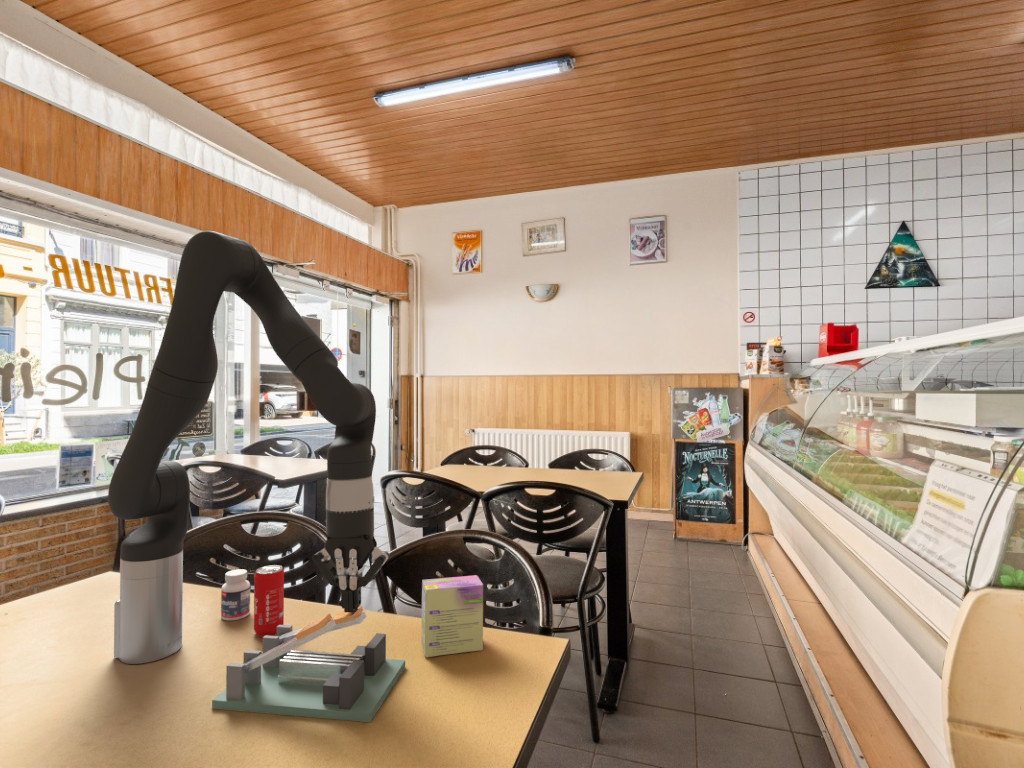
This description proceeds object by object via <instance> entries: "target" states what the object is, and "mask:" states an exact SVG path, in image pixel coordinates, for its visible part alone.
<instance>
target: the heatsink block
mask: <svg viewBox="0 0 1024 768" xmlns="http://www.w3.org/2000/svg"><path fill="white" fill-rule="evenodd" d="M354 660H361V661H363V655H355V654H351V653H340V652H339V653H336V652H326V651H325V652H324V651H313V650H308V651H307V650H299V649H298V650H297V649H293V650H291V651H290V653H288V654H286V656H284V657H283V659H281V660H280V661H279V677H278V683H281V684H294V685H306V686H319V687H323V685H324V683H325V682H326V681H327V680H328V679H329V678H330V677H331V676H332V674H343V673H344V671H345V670H346V669H347V668H348V667H349V665H350V664H351V663H352V662H353V661H354Z"/></svg>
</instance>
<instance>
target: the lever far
mask: <svg viewBox="0 0 1024 768" xmlns="http://www.w3.org/2000/svg"><path fill="white" fill-rule="evenodd" d="M366 618H367V614H366V611H364V608H363V605H360V606H359V607H358V609H357V610H356V611H355V612H354V613H350V612H344V610H342V611H340V612H338V613H337V614H336V615H335V616H334V617H332V619H334V621H335V623H336V625H335V626H334V627H333V628H332V629H331V630H330V631H329V632H330V633H331V632H333V631H337V630H342V629H346V628H349V627H352V626H356V625H359V624H361V623H362V622H363V621H364V620H365V619H366ZM303 628H304V627H303ZM303 628H299V629H295V630H292V631H291V632H288V633H281V634H280V635H278V636H279V645H281V644H283V643H285V642H287V641H289V640H291V639H293V638H295V637H296V636H295V635H296V634H297V633H298V632H300V631H301V630H302V629H303ZM329 632H328V633H329Z"/></svg>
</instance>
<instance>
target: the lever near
mask: <svg viewBox="0 0 1024 768" xmlns="http://www.w3.org/2000/svg"><path fill="white" fill-rule="evenodd" d="M335 625H336V623H335V621H334V619H333V617H332V615H331V613H328V614H326V615H324V616H322V617H319V618H318V619H316V620H313V621H312V622H309V623H308V624H306V625H305V626H304V627H303V629H302V628H301V629H302V630H301V631H300V632H298V633H297V634H296V635H295V636H296V637H295V638H293V639H291V640H289V641H287V642H285V643H283V644H281V645H279V646H277V647H275V648H273V649H271V650H269V651H267V652H265V653H263V652H262V653H261V655H259V656H257V657H255V658H253V659H251V660H247V661H246V662H245V663H244V664H245V673H247V672H249V671H251V670H253V669H255V668H257V667H259V666H261V665H263V664H265V663H267V662H269V661H271V660H273V659H275V658H277V657H279V656H281V655H283V654H285V653H287V652H289V651H291V650H296V649H297V648H299V647H301V646H303V645H305V644H307V643H310V642H311V641H313V640H315V639H318V638H319V637H321V636H323V635H326V634H327V633H329V631H330V630H331V629H332V628H333V627H334V626H335Z"/></svg>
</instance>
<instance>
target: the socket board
mask: <svg viewBox="0 0 1024 768" xmlns="http://www.w3.org/2000/svg"><path fill="white" fill-rule="evenodd" d="M291 631H293V625H286V624H284V625H278V626H277V635H275V636H268V635H265V636H264V637H262V650H253V649H252V650H251V649H246V650H245V651H243V663H235V662H234V663H233V662H230V663H228V664H226V668H225V669H226V672H225V674H226V680H225V681H226V682H225V683H226V685H225V686H226V688H225V689H224V690H222V691H221V692H220V693H219V694H218V695H216V696H215V697H214V698H213V699H212V700H211V709H214V710H215V709H216V710H223V711H225V710H227V711H238V712H246V713H247V712H249V713H260V714H271V715H272V714H273V715H284V716H295V717H305V718H317V719H327V720H340V721H350V722H352V721H353V722H363V723H371V722H372V720H373V718H374V717H375V716H376V714H377V713H378V710H379V709H380V707H381V706H382V704H383V703H384V701H385V700H386V699H387V696H389V693H390V692H391V691H392V688H393V687H394V686H395V684H396V682H397V681H398V680H399V678H400V676H401V675H402V674H403V672H404V671H405V668H406V659H394V658H387V655H386V654H387V650H386V649H387V634H386V633H382V632H380V633H378V632H377V633H376V634H374V636H373V637H372V638H371V640H369V641H368V643H367V644H366V645H360V644H359V645H358V644H357V646H356V647H355V648H354V649H353V650H352V651H351V652H350V654H355V655H363V661H361V660H354V661H353V662H352V663H351V664H350V665H349V667H348V668H347V669H346V670H345V671H344V673H343V674H332V676H331V677H330V678H329V679H328V680H327V681H326V682H325V683H324V685H323V687H319V686H306V685H294V684H281V683H278V677H279V661H280V660H281V659H283V657H284V656H286V654H288V653H290V651H289V652H287V653H285V654H283V655H281V656H279V657H277V658H275V659H273V660H271V661H269V662H267V663H265V664H263V665H261V666H259V667H257V668H255V669H253V670H251V671H249V672H247V673H245V664H244V663H245V662H246V661H247V660H251V659H253V658H255V657H257V656H259V655H261V654H263V653H265V652H267V651H269V650H271V649H273V648H275V647H277V646H279V636H278V635H280V634H281V633H288V632H291Z"/></svg>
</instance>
